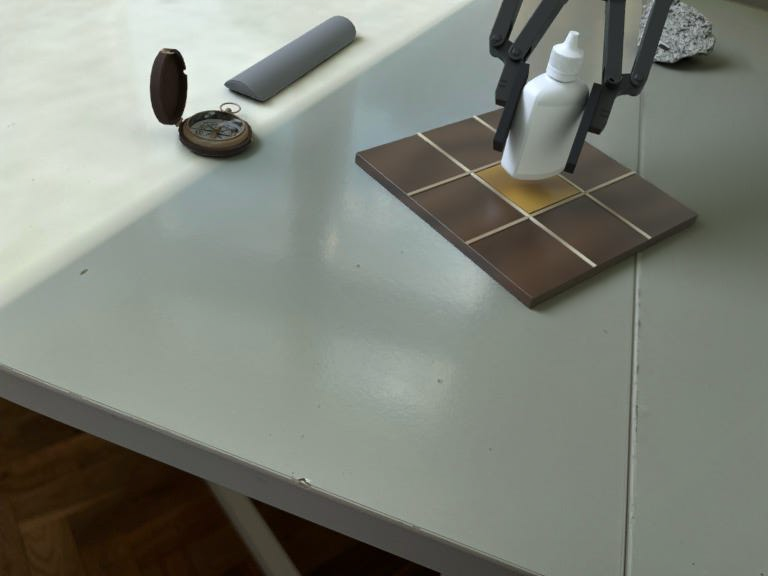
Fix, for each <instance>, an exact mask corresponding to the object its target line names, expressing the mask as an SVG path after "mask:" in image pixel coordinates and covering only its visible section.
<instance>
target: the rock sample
mask: <svg viewBox="0 0 768 576" xmlns="http://www.w3.org/2000/svg"><path fill="white" fill-rule="evenodd" d="M648 1H649V3H647V4H644V5H642V8H643V9H644V10H643V12H642V14H641V17H640V19H639V24H638V26H639V27H638V28H639V32H638V34H637V42H636V46H637V48H639V45H640V42H641V39H642V36H643V33H644V29H645V26H646V23H647V20H648V17H649V14H650V11H651V8H652V6H653V3H654V1H655V0H648ZM712 30H713V22H711V20H709V19H708V16H706V15H704V14H702V13H701V12H700V11H699V10H697V8H696V7H693V6H691V4H687V3H685V2H684V1H681V0H674V2H673V3H672V4H671V6H670V10H669V13H668V16H667V19H666V22H665V25H664V28H663V32H662V35H661V38H660V41H659V44H658V47H657V51H656V54H655V57H654V60H653V63H657V62H660V63H664V64H671V65H672V64H674V63H677V62H678V61H680V60H682V59H684V58H691V57H703V56H704V57H708V56H710V55H711V53H712V55H713V54H714V53H713V51H714V48H715V45H716V41H717V37H716V36H715V34H713V31H712Z"/></svg>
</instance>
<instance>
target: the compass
mask: <svg viewBox="0 0 768 576" xmlns="http://www.w3.org/2000/svg"><path fill="white" fill-rule="evenodd" d="M184 71H187V66H186V62H185V59H184V57H183V55H182V53H181V51H179V50H178V49H177V48H168V47H163V48H162V49H160V50H159V51H158V53H157V55H156V56H155V58H154V60H153V62H152V66H151V71H150V76H149V99H150V104H151V108H152V111H153V114H154V116H155V118H156V119H157V121H158V123H160V124H162V125H165V126H175V127H176V128H178V129H177V132H178V137H179V141H180V143H181V144H182V145H183V146H184V147H185V148H187V149H188V150H190V151H192V152H194V153H196V154H198V155H203V156H208V157H220V158H221V157H228V156H229V157H230V156H234V155H237V154H240V153H241V152H243V151H245V150H247V149H248V147H249V146H250V145H252V143H253V142H254V139H253V136H254V133H253V129H252V126H251V125H250V123H249V122H248V121H246V120H245V119H243V118H241V117H240V116H238V115H236V114H238V113H240V111H241V109H242V107H241V106H240V104H238V103H235V102H230V101H229V102H223V103H221V104H220V105H219V109H218V110H217V109H211V110H210V109H209V110H203V111H198V112H196V113H194V114H193V115H190V116H189V117H186V118H185V119H184V118H183V115H184V113H185V109H186V105H187V100H188V87H189V85H188V84H189V83H188V81H189V79H188V74H187V73H185V72H184ZM225 105H233V106H237V107H238V109H237V110H236V111H232V109H231V107H226V109H225V110H224V109H223V108H222V107H223V106H225Z"/></svg>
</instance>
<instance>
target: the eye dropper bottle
mask: <svg viewBox="0 0 768 576" xmlns="http://www.w3.org/2000/svg"><path fill="white" fill-rule="evenodd" d="M579 37H580V32H578V31H576V30H570V31H569V32H568V34H567V36H566V39H565V40H564V42H562V43H556V44H554V45H553V47H552V49H551V53H550V56H549V59H548V62H547V65H546V69H545V72H543V73H541V74H539V75H537V76H535V77H533V78H532V79H530V80H529V81H527V82H526V85H525V86H524V87H523V89H522V91H521V94H520V97H519V100H518V104H517V107H516V111H515V114H514V118H513V121H512V125H511V129H510V132H509V135H508V139H507V142H506V146H505V150H504V153H503V157H502V160H501V165H502V167H503V168H504V170H505V171H506V172H507V173H508V174H509V175H510V176H511V177H513V178H515V179H519V180H540V179H546V178H549V177H552V176H555V175H557V174H559V173H560V172H562V171H563V170H564V168H565V165H566V162H567V159H568V157H569V154H570V151H571V148H572V145H573V142H574V139H575V136H576V133H577V130H578V127H579V124H580V121H581V118H582V115H583V113H584V110H585V107H586V104H587V101H588V98H589V95H590V88H589V86H588V85H587V84H586V82H584V81H583V80H582V79H581V78H580V77H578V76H579V73H580V70H581V67H582V64H583V62H584V58H585V52H584V50H583V49H582V48H580V47H579Z"/></svg>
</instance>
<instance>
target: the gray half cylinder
mask: <svg viewBox="0 0 768 576" xmlns="http://www.w3.org/2000/svg"><path fill="white" fill-rule="evenodd" d="M356 37H357V29H356V26H355V24H354V23H353V22H352V21H351V20H350V18H347V17H346V16H344V15H332V16H331V17H329V18H327V19H325V20H324V21H322V22H321V23H319V24H318V25H315V26H314V27H313V28H311V29H310V30H308V31H306V32H304V33H303V34H301V35H300V36H298V37H297V38H295V39H293V40H291V41H290V42H288V43H287V44H285V45H283V46H282V47H280V48H279V49H277V50H275V51H274V52H272V53H271V54H269V55H267V56H265V57H264V58H262V59H260V60H258V62H256V63H254V64H253V65H251V66H250V67H247V68H246V69H244V70H243V71H241V72H240V73H238V74H236V75H235V76H233V77H232V78H230V79H228V80H226V81H225V82H224V84H223V86H224V87H225V88H228V89H230V90H232V91H234V92H237V93H239V94H242V95H245V96H248V97H250V98H253V99H255V100H258V101H263V102H264V101H267V100H268V99H269V98H270V99H271V97H272V96H274V95H275V94H277V93H279V92H280V91H281V90H283V89H284V88H286V87H287V86H289V85H290V84H292V83H293V82H295V81H296V80H297V79H299V78H300V77H302V76H303V75H305V74H307V73H308V72H309V71H311V70H312V69H313V68H315V67H317V66H318V65H319V64H321V63H322V62H324V61H326V60H327V59H328V58H330V57H332V56H333V55H334V54H336V53H337V52H339V51H340V50H341V49H343V48H345V47H346V46H347V45H349V44H351V42H354V40H355V38H356Z"/></svg>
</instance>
